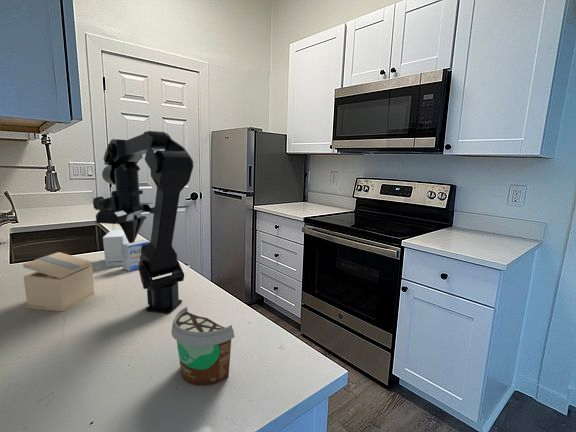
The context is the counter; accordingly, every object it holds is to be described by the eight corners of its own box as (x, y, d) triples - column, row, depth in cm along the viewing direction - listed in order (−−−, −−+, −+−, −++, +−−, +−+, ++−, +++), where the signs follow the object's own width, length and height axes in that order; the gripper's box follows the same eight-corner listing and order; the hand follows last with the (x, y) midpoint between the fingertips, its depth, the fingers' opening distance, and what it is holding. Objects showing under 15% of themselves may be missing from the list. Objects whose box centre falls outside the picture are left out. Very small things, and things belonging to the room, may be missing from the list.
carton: (94, 294, 87) (92, 266, 86) (63, 311, 77) (60, 279, 76) (62, 291, 89) (58, 263, 87) (27, 307, 79) (23, 276, 77)
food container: (158, 372, 56) (155, 319, 55) (187, 354, 61) (185, 305, 60) (207, 402, 50) (205, 343, 48) (235, 380, 55) (234, 325, 53)
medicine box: (129, 272, 104) (127, 246, 103) (122, 269, 107) (120, 243, 105) (152, 265, 111) (150, 241, 109) (145, 263, 113) (143, 239, 112)
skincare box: (112, 257, 118) (110, 229, 116) (131, 256, 120) (129, 229, 118) (104, 267, 108) (101, 236, 107) (125, 265, 110) (123, 235, 108)
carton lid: (91, 264, 86) (92, 261, 85) (60, 278, 76) (60, 274, 76) (58, 255, 87) (58, 251, 87) (23, 267, 77) (23, 263, 77)
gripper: (123, 183, 98) (126, 233, 101) (73, 189, 80) (79, 250, 83) (157, 184, 96) (159, 235, 99) (114, 190, 78) (119, 252, 81)
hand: (131, 242), depth 91 cm, fingers closed
